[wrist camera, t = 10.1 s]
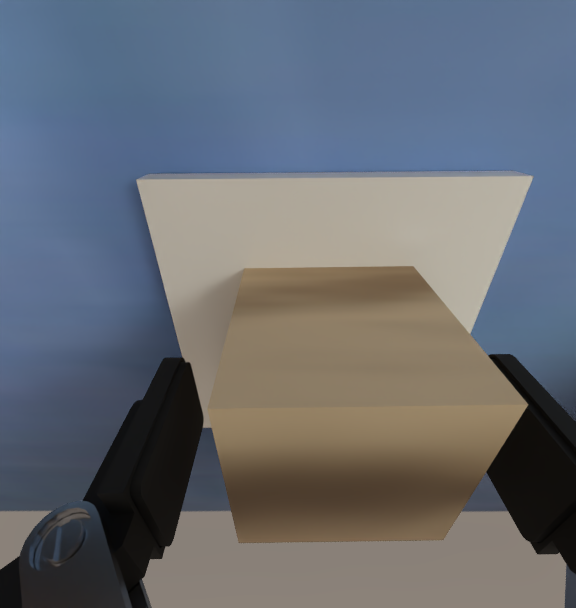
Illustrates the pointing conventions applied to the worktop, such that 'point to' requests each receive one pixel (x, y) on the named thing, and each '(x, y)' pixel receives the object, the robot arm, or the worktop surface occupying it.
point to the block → (352, 407)
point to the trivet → (320, 238)
